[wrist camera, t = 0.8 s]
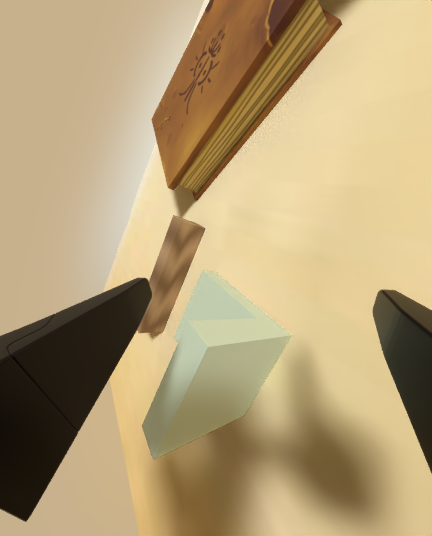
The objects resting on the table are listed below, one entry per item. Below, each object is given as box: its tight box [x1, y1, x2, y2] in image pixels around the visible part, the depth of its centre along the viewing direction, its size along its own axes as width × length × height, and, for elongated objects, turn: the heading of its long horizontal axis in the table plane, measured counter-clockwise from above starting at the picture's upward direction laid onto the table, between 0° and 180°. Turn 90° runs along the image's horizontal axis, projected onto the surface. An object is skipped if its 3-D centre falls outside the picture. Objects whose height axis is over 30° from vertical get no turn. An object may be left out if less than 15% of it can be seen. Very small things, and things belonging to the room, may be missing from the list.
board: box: [137, 215, 205, 333], centre depth 32 cm, size 18×2×4 cm, turn 144°
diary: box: [152, 0, 342, 200], centre depth 29 cm, size 23×19×6 cm
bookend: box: [142, 270, 292, 460], centre depth 21 cm, size 12×10×10 cm
